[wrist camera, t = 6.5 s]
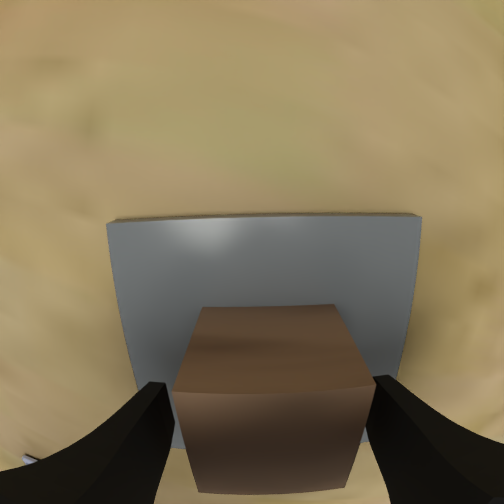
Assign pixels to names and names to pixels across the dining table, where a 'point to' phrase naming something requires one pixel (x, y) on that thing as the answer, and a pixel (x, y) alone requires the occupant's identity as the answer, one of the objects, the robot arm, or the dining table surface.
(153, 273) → the coaster
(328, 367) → the walnut cube
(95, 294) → the dining table surface
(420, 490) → the robot arm
